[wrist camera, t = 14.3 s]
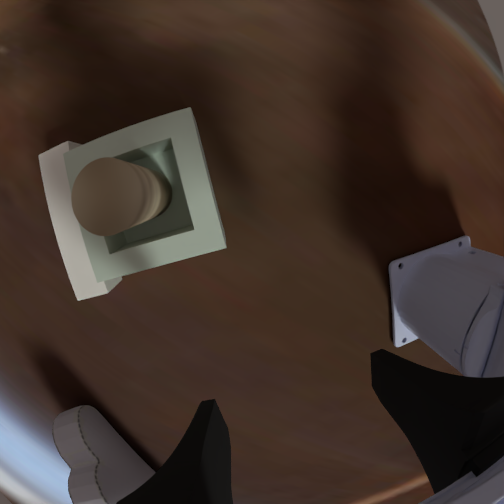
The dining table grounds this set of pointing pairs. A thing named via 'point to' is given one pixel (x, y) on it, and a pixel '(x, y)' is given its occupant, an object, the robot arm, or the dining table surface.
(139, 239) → the socket block
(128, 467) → the decorative item
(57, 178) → the backstop wall
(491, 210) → the dining table surface
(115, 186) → the dowel
